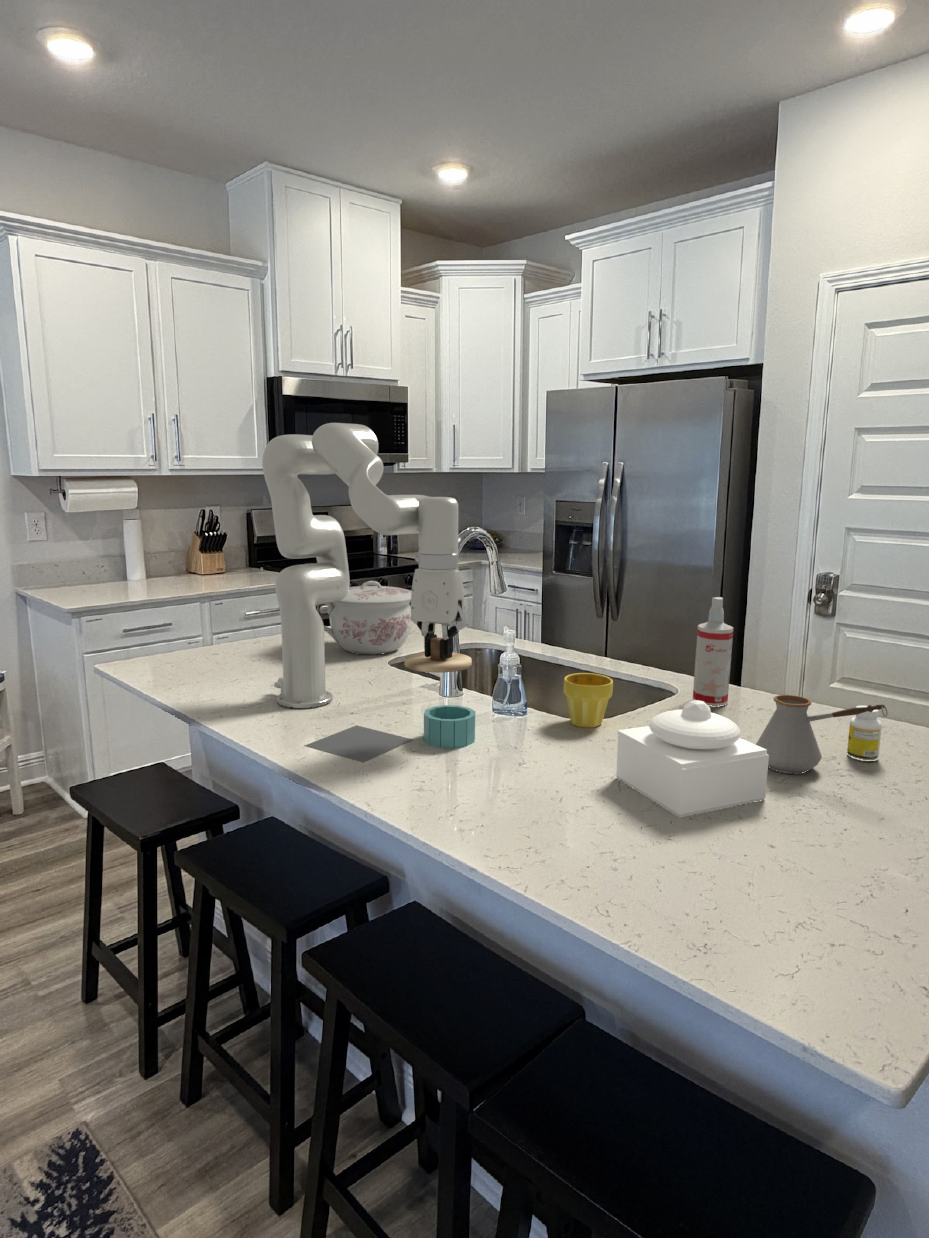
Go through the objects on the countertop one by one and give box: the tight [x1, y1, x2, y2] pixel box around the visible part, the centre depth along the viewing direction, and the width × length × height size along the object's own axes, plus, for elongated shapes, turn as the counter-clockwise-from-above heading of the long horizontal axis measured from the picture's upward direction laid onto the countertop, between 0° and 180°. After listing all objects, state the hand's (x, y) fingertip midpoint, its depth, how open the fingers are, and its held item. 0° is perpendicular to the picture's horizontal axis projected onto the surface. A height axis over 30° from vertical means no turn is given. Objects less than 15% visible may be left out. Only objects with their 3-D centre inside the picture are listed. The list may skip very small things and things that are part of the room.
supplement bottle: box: [846, 705, 883, 760], centre depth 151 cm, size 5×5×10 cm
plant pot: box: [563, 672, 614, 728], centre depth 169 cm, size 10×10×10 cm
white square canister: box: [615, 699, 769, 819], centre depth 135 cm, size 18×18×16 cm
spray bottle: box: [692, 596, 734, 706], centre depth 184 cm, size 8×8×25 cm
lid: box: [404, 637, 473, 674], centre depth 153 cm, size 13×13×5 cm
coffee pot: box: [755, 694, 888, 774], centre depth 142 cm, size 21×12×15 cm, turn 49°
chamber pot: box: [315, 580, 413, 655], centre depth 234 cm, size 28×28×21 cm
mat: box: [303, 724, 414, 763], centre depth 155 cm, size 15×15×1 cm
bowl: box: [423, 704, 476, 749], centre depth 157 cm, size 10×10×6 cm
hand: (438, 656), depth 154 cm, fingers closed on lid, 3 cm apart
